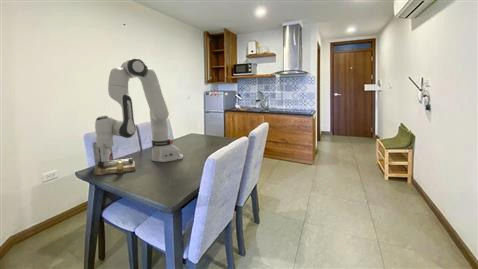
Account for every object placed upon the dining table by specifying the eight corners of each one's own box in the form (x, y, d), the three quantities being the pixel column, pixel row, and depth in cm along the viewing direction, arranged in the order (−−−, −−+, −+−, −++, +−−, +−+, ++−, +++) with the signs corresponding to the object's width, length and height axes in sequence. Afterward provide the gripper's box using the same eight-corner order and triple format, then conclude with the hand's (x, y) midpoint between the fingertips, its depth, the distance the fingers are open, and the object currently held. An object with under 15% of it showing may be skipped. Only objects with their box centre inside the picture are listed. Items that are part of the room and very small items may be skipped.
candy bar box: (107, 161, 163) (105, 138, 159) (113, 162, 162) (111, 139, 158) (94, 167, 152) (91, 142, 149) (101, 167, 151) (98, 143, 148)
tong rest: (134, 164, 159) (134, 160, 158) (135, 170, 147) (134, 166, 147) (97, 168, 150) (96, 164, 150) (94, 175, 138) (93, 171, 138)
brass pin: (123, 172, 144) (122, 161, 142) (123, 174, 141) (122, 163, 139) (117, 173, 142) (116, 162, 141) (117, 174, 139) (116, 163, 138)
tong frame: (133, 161, 156) (132, 157, 156) (133, 163, 153) (132, 158, 153) (98, 165, 148) (98, 160, 148) (98, 166, 145) (97, 162, 145)
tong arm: (128, 162, 153) (128, 159, 152) (128, 163, 151) (128, 160, 151) (98, 166, 145) (97, 163, 144) (98, 167, 143) (97, 164, 143)
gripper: (109, 146, 134) (111, 169, 136) (111, 139, 152) (113, 160, 154) (97, 147, 131) (99, 171, 134) (100, 140, 149) (102, 161, 152)
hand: (106, 165), depth 144 cm, fingers closed
